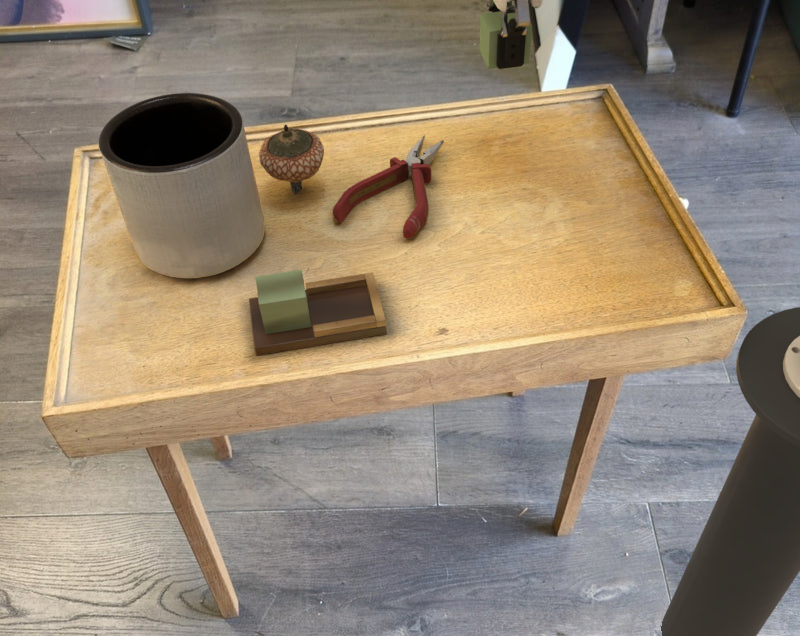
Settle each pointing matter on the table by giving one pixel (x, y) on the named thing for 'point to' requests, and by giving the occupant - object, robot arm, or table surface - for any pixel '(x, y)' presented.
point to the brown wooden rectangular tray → (313, 311)
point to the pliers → (392, 177)
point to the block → (489, 34)
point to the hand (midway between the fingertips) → (504, 54)
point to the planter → (184, 183)
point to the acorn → (292, 156)
